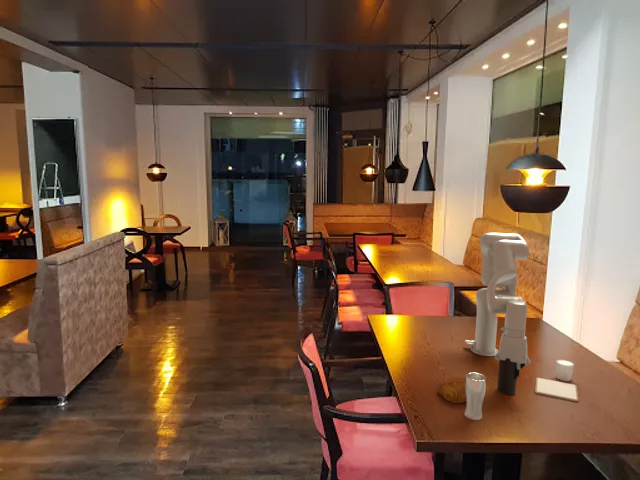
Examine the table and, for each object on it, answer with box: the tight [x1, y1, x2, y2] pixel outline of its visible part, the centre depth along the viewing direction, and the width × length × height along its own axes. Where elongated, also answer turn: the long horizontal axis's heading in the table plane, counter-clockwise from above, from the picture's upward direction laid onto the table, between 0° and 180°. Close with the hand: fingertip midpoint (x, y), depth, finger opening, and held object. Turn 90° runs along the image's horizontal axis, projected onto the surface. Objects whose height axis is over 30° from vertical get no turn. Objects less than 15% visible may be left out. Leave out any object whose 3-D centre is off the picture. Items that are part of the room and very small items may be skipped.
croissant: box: [437, 376, 466, 404], centre depth 184 cm, size 14×16×8 cm
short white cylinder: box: [555, 359, 575, 382], centre depth 201 cm, size 7×7×7 cm
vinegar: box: [496, 358, 517, 396], centre depth 187 cm, size 7×7×20 cm
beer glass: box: [464, 372, 487, 421], centre depth 168 cm, size 7×7×15 cm
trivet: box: [534, 376, 579, 403], centre depth 190 cm, size 15×15×1 cm
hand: (510, 376), depth 186 cm, fingers closed on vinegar, 3 cm apart
